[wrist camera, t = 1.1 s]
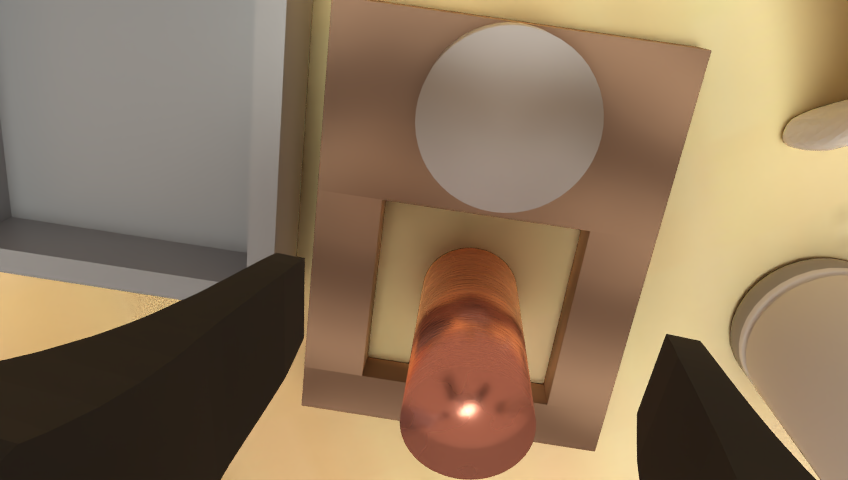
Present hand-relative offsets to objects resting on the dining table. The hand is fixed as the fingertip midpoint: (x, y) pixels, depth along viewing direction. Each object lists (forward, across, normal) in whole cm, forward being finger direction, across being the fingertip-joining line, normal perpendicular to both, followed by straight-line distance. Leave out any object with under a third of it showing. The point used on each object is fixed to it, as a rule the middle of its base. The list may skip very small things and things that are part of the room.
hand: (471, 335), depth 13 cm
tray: (+12, +15, +1) cm, 19 cm away
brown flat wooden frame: (+13, +1, +4) cm, 14 cm away
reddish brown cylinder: (+12, +1, +7) cm, 15 cm away
